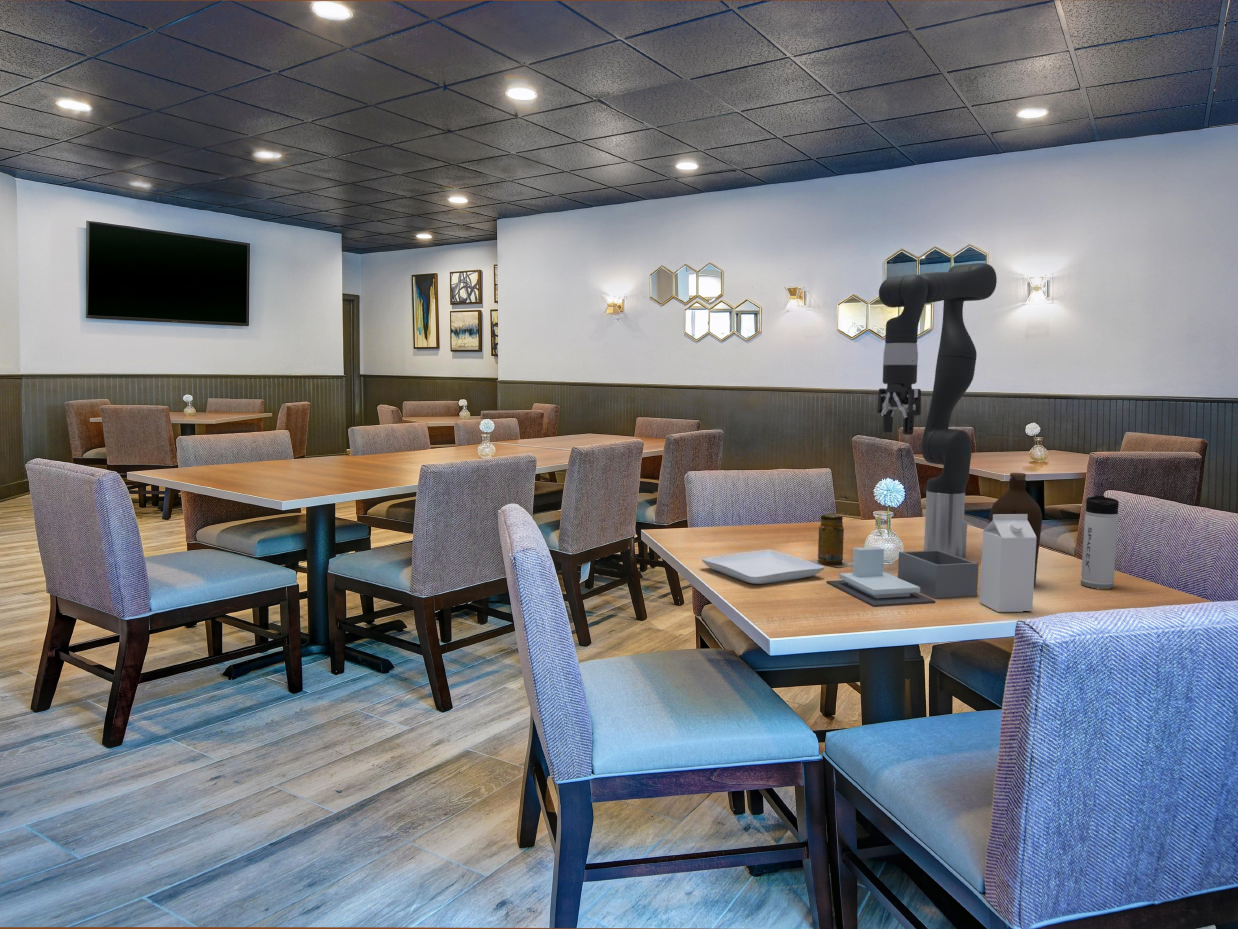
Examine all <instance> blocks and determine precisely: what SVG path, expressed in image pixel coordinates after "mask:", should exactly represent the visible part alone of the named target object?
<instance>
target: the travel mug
mask: <svg viewBox="0 0 1238 929" xmlns="http://www.w3.org/2000/svg"><path fill="white" fill-rule="evenodd" d="M1085 500H1086V501H1085V515H1084V527H1083V540H1082V541H1083V542H1082V545H1083V546H1082V558H1081V573H1080V577H1081V578H1080V585H1081V586H1083V585H1084V586H1083V587H1085V586H1087V587H1086V588H1088V587H1091V588H1090V589H1093V588H1099V589H1098V590H1102V589H1107V590H1111V589H1110V588H1112V589H1113V588H1114V583H1115V582H1114V579H1115V565H1116V553H1117V552H1116V551H1117V540H1118V538H1117V537H1118V535H1117V534H1118V522H1119V517H1118V516H1119V510H1118V509H1119V504H1120V503H1119V502H1120V501H1119V500H1118V499H1115V498H1112V497H1108V496H1107V497H1106V496H1105V495H1094V496H1090V497H1089V496H1088V497H1087V498H1086V499H1085Z"/></svg>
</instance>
